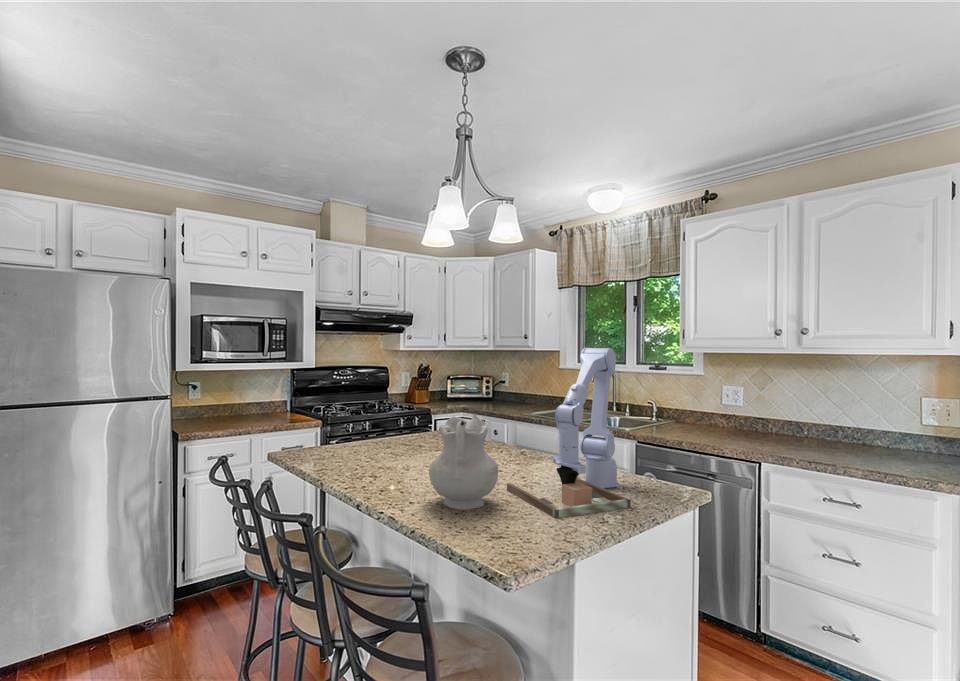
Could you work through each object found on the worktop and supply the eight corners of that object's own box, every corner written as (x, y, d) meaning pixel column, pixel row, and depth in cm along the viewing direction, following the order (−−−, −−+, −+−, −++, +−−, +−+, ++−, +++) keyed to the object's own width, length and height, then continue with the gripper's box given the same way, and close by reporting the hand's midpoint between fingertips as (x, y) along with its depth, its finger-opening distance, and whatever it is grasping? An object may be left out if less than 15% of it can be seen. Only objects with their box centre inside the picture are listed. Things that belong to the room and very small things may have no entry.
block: (579, 499, 151) (579, 482, 151) (591, 505, 146) (591, 487, 146) (561, 502, 149) (561, 484, 149) (573, 508, 143) (573, 490, 143)
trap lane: (573, 482, 170) (573, 476, 170) (630, 507, 145) (630, 500, 145) (506, 489, 161) (506, 483, 161) (554, 518, 135) (554, 510, 135)
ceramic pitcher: (503, 520, 136) (511, 424, 137) (428, 517, 133) (437, 419, 133) (488, 496, 157) (495, 414, 158) (424, 493, 154) (431, 409, 155)
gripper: (543, 442, 156) (543, 487, 156) (570, 451, 143) (570, 501, 143) (563, 441, 159) (563, 485, 159) (592, 450, 146) (591, 498, 146)
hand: (568, 492), depth 151 cm, fingers closed
